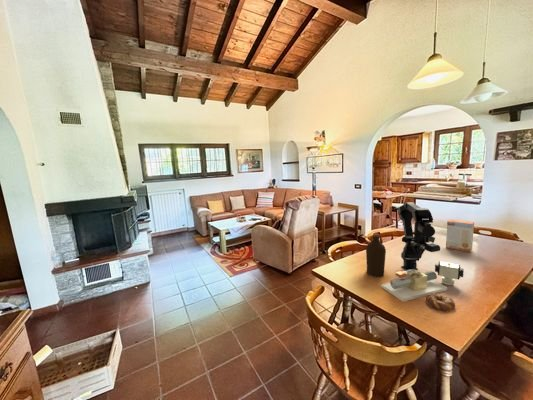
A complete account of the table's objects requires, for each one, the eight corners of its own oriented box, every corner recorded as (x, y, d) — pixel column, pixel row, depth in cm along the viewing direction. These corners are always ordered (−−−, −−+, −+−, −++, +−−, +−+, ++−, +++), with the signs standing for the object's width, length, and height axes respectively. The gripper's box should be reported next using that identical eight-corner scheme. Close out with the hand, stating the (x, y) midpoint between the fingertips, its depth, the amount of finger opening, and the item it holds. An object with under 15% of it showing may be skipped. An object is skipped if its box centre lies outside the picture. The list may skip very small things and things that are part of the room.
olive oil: (374, 279, 131) (374, 238, 127) (362, 271, 141) (362, 232, 137) (389, 276, 133) (390, 235, 130) (376, 268, 144) (377, 230, 140)
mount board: (381, 287, 123) (381, 284, 123) (421, 277, 130) (422, 275, 130) (403, 301, 109) (403, 298, 109) (446, 290, 116) (447, 287, 116)
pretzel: (440, 296, 112) (441, 289, 112) (462, 310, 101) (463, 302, 101) (419, 299, 110) (419, 292, 110) (439, 314, 100) (439, 306, 99)
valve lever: (399, 278, 114) (400, 274, 113) (395, 276, 116) (395, 272, 116) (418, 273, 117) (418, 269, 117) (413, 271, 120) (413, 267, 119)
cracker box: (472, 250, 161) (474, 222, 158) (470, 252, 158) (472, 223, 154) (447, 245, 172) (449, 219, 169) (445, 247, 169) (447, 220, 165)
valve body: (387, 286, 120) (387, 274, 119) (425, 277, 127) (426, 266, 125) (399, 295, 112) (400, 281, 111) (439, 284, 119) (440, 272, 118)
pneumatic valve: (434, 278, 128) (435, 258, 126) (461, 284, 120) (463, 263, 118) (433, 283, 123) (435, 262, 122) (462, 289, 116) (464, 267, 114)
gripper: (449, 233, 117) (447, 262, 119) (416, 225, 134) (415, 249, 137) (432, 236, 114) (430, 265, 116) (401, 227, 131) (400, 252, 134)
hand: (419, 257), depth 126 cm, fingers closed
